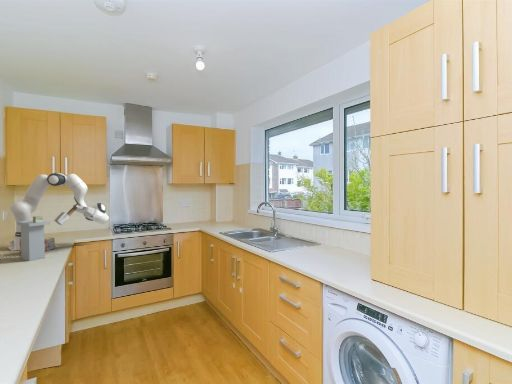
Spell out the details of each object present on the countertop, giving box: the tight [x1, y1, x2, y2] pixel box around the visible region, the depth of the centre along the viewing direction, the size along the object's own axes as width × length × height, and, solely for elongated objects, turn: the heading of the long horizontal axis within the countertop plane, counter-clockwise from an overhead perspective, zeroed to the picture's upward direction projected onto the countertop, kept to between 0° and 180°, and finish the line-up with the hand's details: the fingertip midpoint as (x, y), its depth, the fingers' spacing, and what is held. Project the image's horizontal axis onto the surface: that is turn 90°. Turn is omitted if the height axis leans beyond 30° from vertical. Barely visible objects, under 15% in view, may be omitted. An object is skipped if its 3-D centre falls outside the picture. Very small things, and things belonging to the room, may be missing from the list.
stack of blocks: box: [19, 237, 56, 256], centre depth 218 cm, size 21×6×12 cm, turn 158°
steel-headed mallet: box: [53, 203, 80, 226], centre depth 218 cm, size 5×20×5 cm
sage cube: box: [32, 215, 44, 223], centre depth 195 cm, size 4×4×4 cm
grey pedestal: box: [17, 219, 50, 262], centre depth 198 cm, size 18×12×26 cm, turn 61°
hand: (74, 205), depth 222 cm, fingers closed on steel-headed mallet, 2 cm apart
